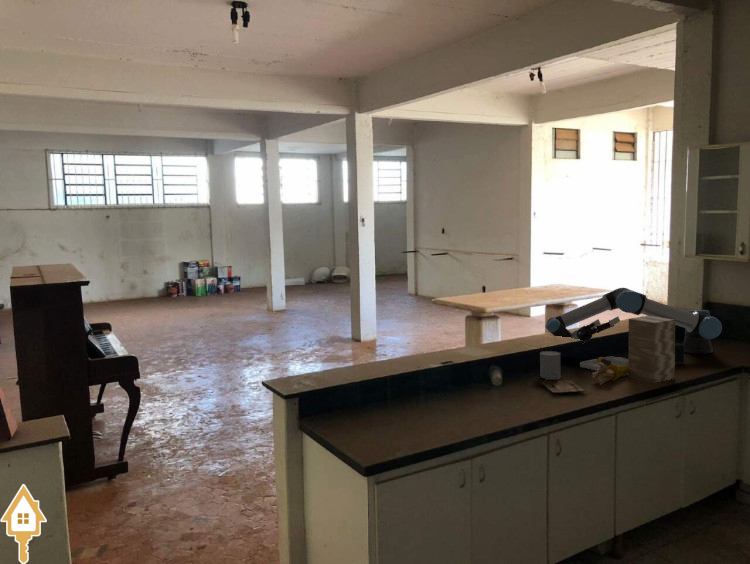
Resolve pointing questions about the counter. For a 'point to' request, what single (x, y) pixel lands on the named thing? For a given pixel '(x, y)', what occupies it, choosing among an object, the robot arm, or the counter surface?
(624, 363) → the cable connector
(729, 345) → the counter surface
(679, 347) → the small box
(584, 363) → the tray
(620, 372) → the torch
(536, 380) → the counter surface
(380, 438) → the counter surface
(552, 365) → the grey cylinder
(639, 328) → the stand
